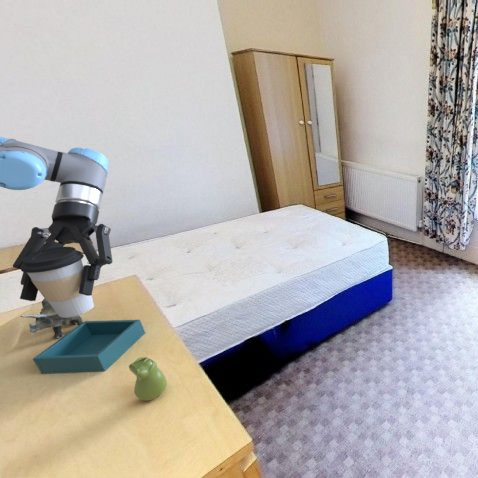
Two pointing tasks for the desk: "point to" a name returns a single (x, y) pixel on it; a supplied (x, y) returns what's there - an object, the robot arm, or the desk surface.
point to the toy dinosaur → (51, 320)
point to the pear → (148, 379)
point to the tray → (90, 347)
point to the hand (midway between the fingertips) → (56, 297)
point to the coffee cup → (59, 279)
